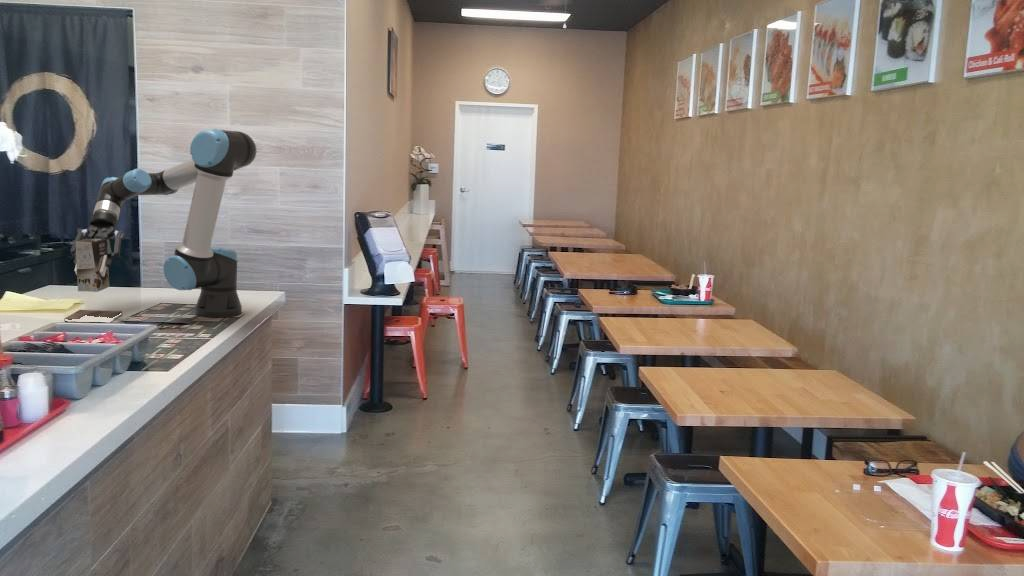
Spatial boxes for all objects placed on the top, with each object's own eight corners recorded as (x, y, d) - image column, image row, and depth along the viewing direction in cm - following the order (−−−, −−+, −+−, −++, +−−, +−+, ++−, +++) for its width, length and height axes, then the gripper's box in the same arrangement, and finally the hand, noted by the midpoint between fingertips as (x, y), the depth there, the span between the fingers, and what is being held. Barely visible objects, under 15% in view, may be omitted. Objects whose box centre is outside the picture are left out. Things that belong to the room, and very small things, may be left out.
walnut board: (121, 314, 253) (121, 311, 253) (109, 323, 240) (109, 319, 240) (79, 313, 250) (79, 309, 250) (64, 322, 238) (64, 318, 238)
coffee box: (98, 292, 239) (96, 241, 236) (77, 291, 239) (74, 240, 236) (110, 286, 248) (107, 238, 245) (89, 286, 247) (86, 237, 245)
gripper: (139, 226, 257) (125, 281, 244) (76, 223, 253) (58, 279, 240) (134, 211, 251) (120, 267, 238) (69, 208, 247) (51, 265, 234)
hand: (89, 273), depth 239 cm, fingers closed on coffee box, 7 cm apart
